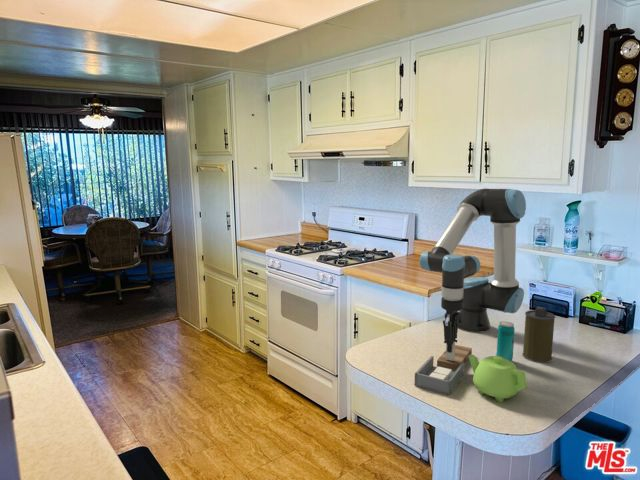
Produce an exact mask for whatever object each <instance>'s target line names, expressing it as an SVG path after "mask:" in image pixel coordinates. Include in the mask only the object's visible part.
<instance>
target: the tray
mask: <svg viewBox="0 0 640 480" xmlns="http://www.w3.org/2000/svg"><path fill="white" fill-rule="evenodd" d="M434 358H435V357H434V355H431V356H430V357H429V358H428V359H427V360H426V361H425V362H424V363H423V364H422V365H421V366H420V368H418V369H417V370H416V371H415V373H414V386H415V387H419V388H422V389H425V390H430V391H433V392H436V393H441V394H444V395H449V396H450V395H451V393H452V392H453V390H454V389H455V388H456V386H457V385H458V384H459V382H460V381H461V380H462V378H463V376H464V375H465V365H464V363H461V365H460V366H459V367H458V369H457V370H456V371H452V375H451V377H450V378H449V379H448V380H443V379H439V378H435V377H431V376H429V375H430V374H431V373H432V372H434V371H435V369H436V368H437V366H434Z"/></svg>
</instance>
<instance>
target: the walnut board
mask: <svg viewBox="0 0 640 480" xmlns="http://www.w3.org/2000/svg"><path fill="white" fill-rule="evenodd" d="M472 351H473V348H472V347H467V346H463V345H459V344H455V356H454V361H451V360H447V359H446V350H445V351H444V352H443V353H442V354H441V355H440V356H439V357H438V358H437V360H436V367H438V366H439V367H443V368H447V369H451V370H452V371H456V370H457V369H458V367H459V366H460V365H461V363H464V366H465V365H466V363H468V361H469V360H470V359H469V355H470V354H471V355H473V352H472Z"/></svg>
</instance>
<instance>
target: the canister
mask: <svg viewBox="0 0 640 480" xmlns="http://www.w3.org/2000/svg"><path fill="white" fill-rule="evenodd" d="M524 315H525V321H524V334H523V335H524V336H523V349H522V354H521V355H522V357H524V359H526V360H528V361H531V362H534V363H549V362H551V361H552V360H553V354H552V353H553V343H554V331H555V328H554V327H555V319H556V315H555V314H554V313H552V312H548V311H547V310H546V307H543V306H539V305H538V306H537V305H536V307H535V310H533V309H532V310H527V311H525V313H524Z"/></svg>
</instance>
